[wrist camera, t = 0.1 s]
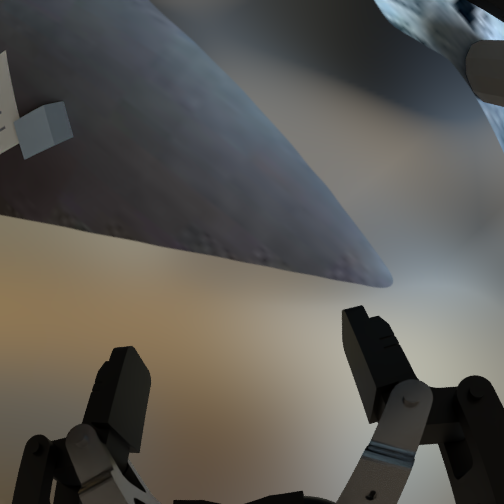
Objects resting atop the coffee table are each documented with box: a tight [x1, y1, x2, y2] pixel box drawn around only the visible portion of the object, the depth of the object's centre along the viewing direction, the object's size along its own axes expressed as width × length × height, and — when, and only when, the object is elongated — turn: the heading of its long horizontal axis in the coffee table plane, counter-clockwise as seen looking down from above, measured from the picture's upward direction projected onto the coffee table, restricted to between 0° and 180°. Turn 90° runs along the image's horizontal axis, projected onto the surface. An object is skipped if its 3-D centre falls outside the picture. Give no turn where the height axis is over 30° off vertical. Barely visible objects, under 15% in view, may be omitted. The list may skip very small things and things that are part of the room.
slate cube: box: [13, 101, 73, 160], centre depth 30 cm, size 5×5×5 cm
